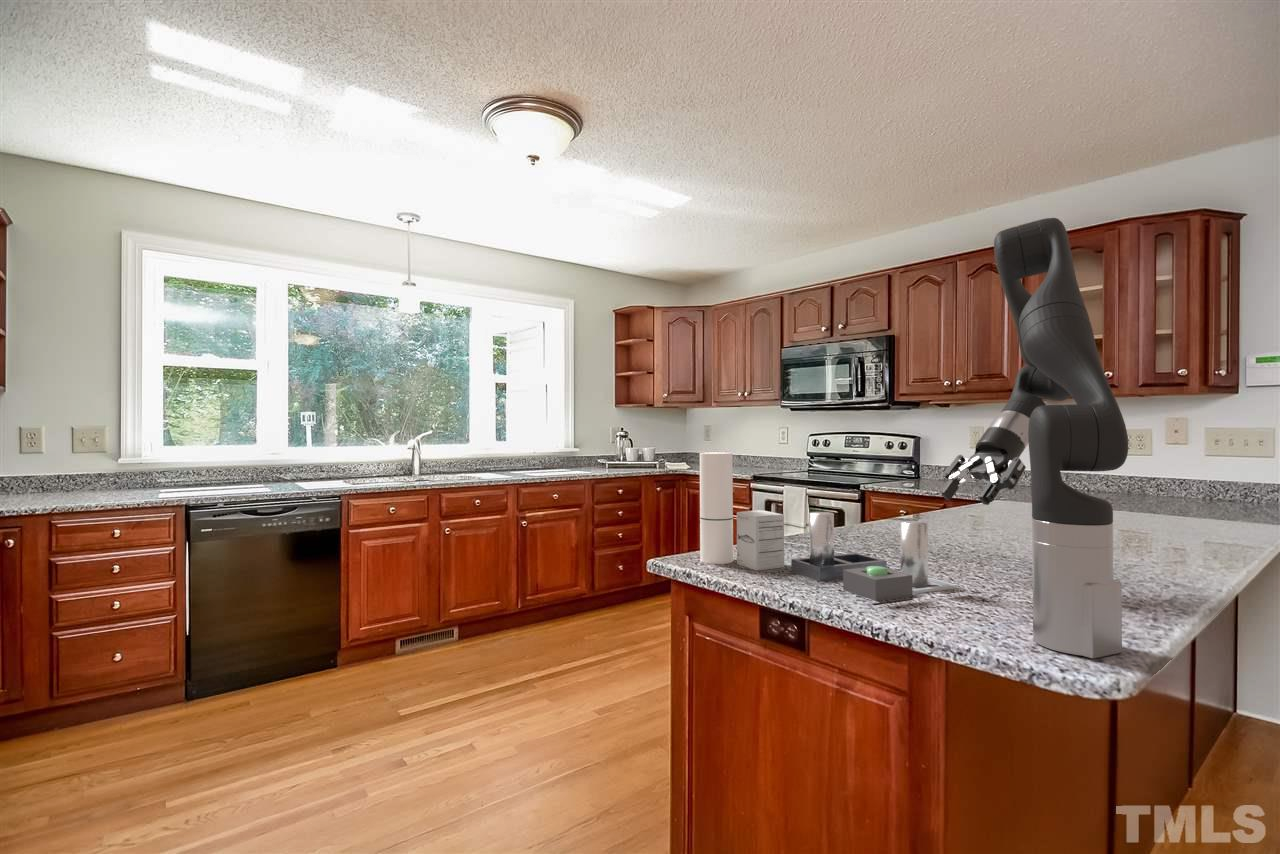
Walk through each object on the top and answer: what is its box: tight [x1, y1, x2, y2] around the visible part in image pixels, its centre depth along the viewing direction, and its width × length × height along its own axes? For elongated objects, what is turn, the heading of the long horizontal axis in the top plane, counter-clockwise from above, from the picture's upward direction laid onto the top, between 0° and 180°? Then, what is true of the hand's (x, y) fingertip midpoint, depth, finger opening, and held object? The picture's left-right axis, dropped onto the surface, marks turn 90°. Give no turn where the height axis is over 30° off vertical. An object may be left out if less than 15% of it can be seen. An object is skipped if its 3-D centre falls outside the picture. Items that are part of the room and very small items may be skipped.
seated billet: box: [809, 511, 835, 566], centre depth 123 cm, size 5×5×12 cm
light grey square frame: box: [912, 576, 958, 595], centre depth 115 cm, size 10×10×2 cm
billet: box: [899, 520, 929, 589], centre depth 115 cm, size 5×5×12 cm
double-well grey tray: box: [790, 552, 888, 583], centre depth 125 cm, size 9×16×4 cm, turn 112°
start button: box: [867, 566, 888, 576], centre depth 109 cm, size 3×3×3 cm
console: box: [842, 567, 914, 606], centre depth 109 cm, size 8×8×5 cm
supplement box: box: [736, 509, 785, 571], centre depth 132 cm, size 7×7×13 cm
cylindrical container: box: [699, 451, 734, 565], centre depth 137 cm, size 7×7×25 cm
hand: (963, 499), depth 120 cm, fingers open, 8 cm apart
